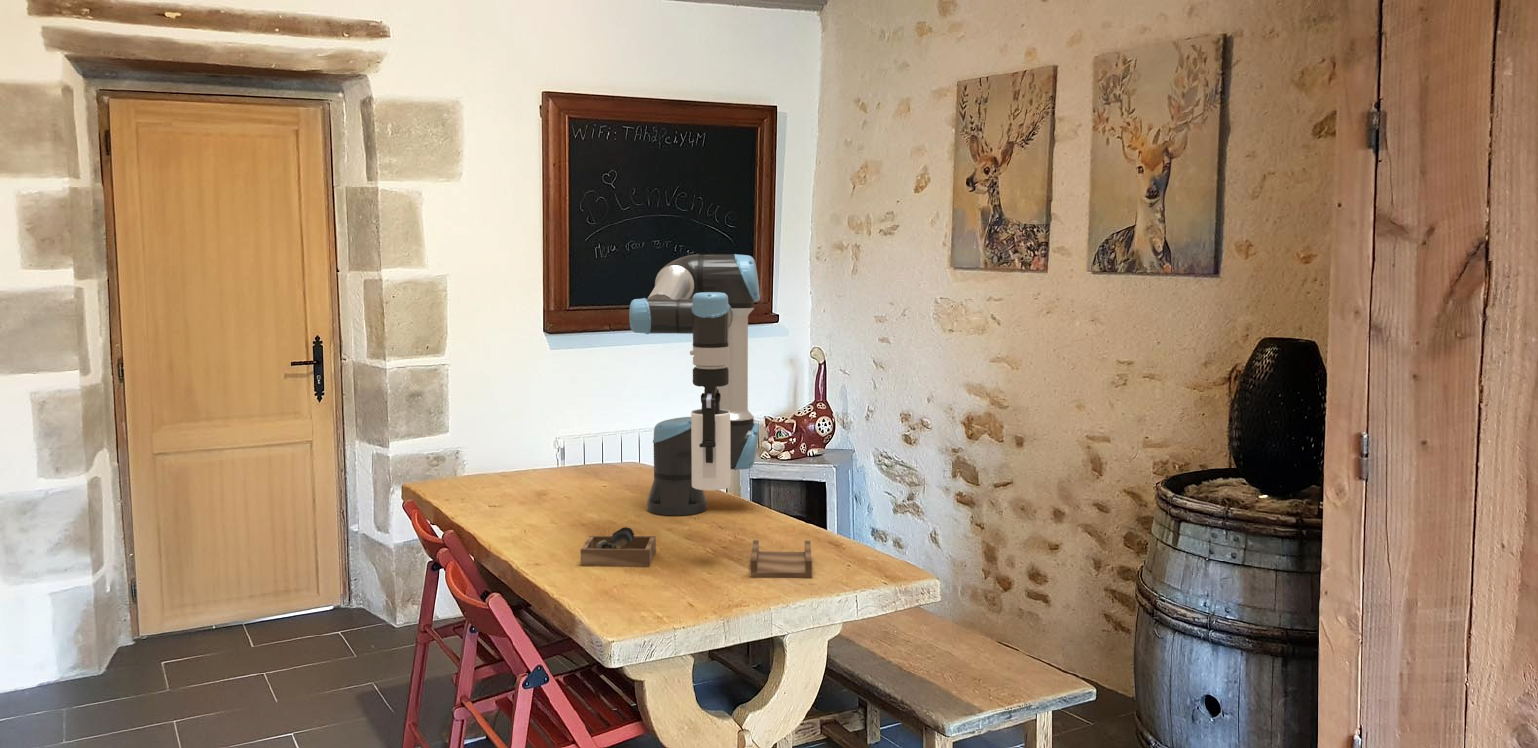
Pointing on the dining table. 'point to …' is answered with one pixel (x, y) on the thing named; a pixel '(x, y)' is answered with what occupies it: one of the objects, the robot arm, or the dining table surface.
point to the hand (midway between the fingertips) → (711, 472)
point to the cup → (721, 451)
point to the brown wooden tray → (781, 563)
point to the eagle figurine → (617, 539)
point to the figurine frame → (619, 552)
